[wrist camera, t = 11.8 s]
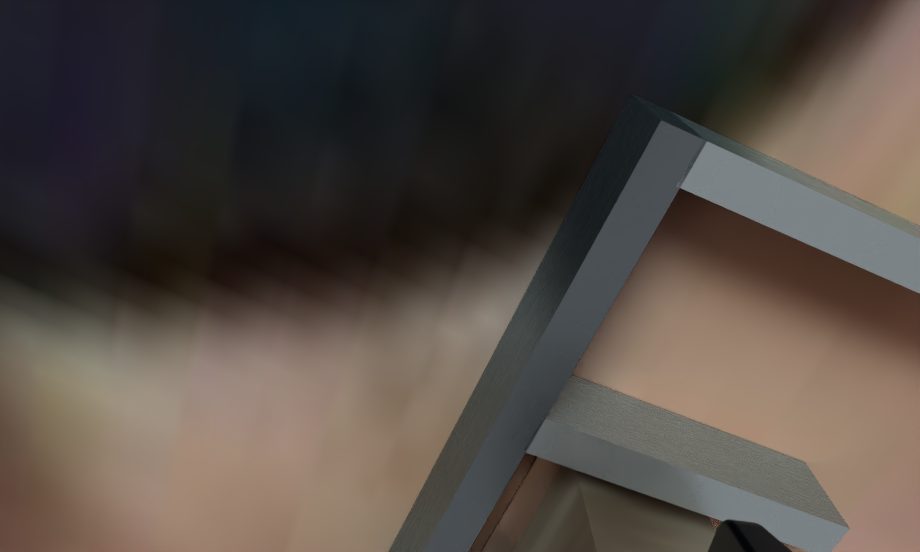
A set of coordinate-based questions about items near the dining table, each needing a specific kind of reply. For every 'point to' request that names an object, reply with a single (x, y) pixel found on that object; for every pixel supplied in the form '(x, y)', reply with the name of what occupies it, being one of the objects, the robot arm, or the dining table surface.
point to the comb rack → (617, 415)
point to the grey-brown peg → (610, 520)
